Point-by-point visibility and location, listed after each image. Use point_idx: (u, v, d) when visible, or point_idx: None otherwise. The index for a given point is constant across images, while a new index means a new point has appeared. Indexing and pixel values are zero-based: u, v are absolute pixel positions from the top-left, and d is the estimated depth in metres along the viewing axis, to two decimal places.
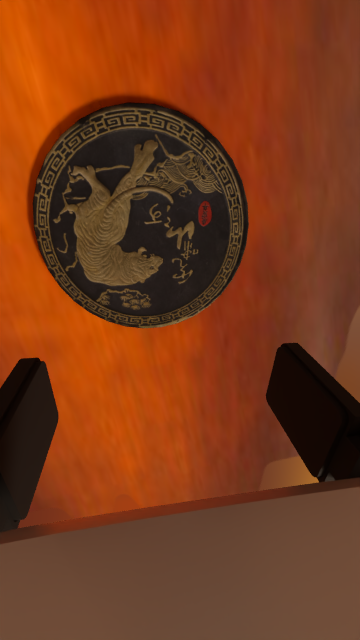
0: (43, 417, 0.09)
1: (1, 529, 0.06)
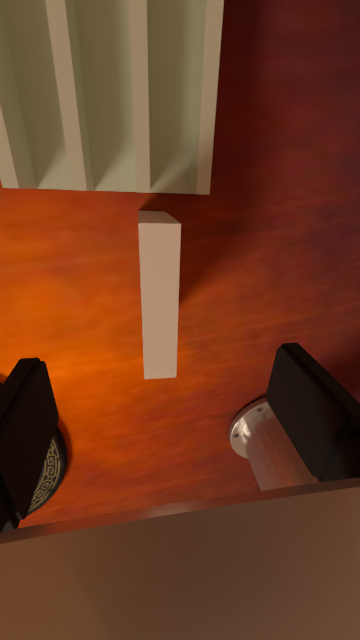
0: (43, 417, 0.09)
1: (1, 529, 0.06)
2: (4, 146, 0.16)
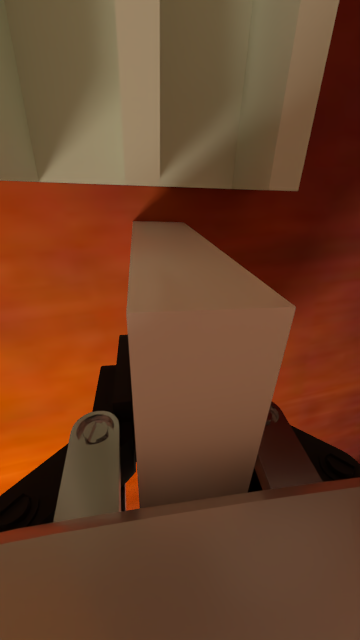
0: None
1: (134, 464, 0.08)
2: None
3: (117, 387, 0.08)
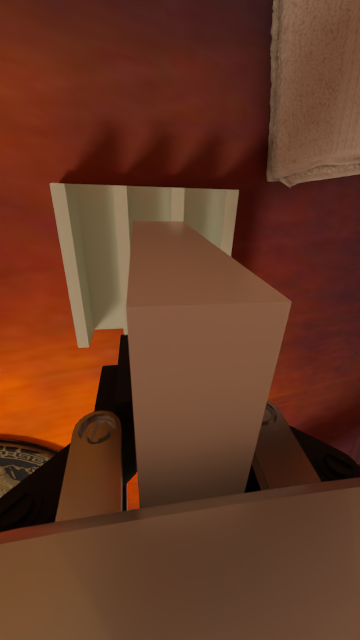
0: None
1: None
2: (82, 325, 0.24)
3: (119, 387, 0.08)
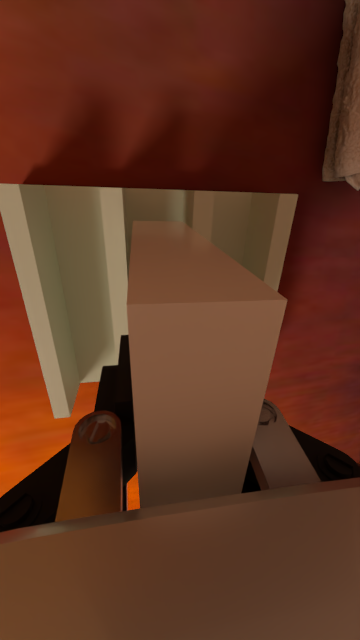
0: None
1: None
2: (58, 390, 0.16)
3: (119, 387, 0.08)
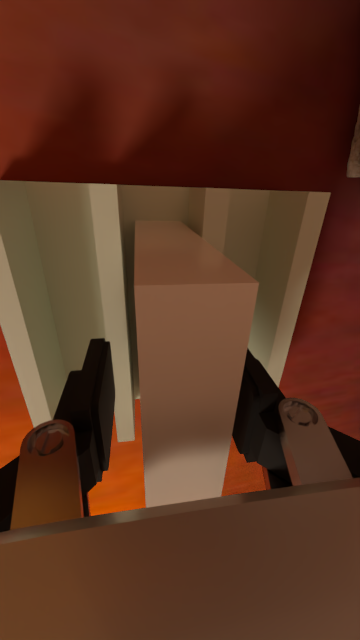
0: (111, 389, 0.10)
1: (97, 474, 0.08)
2: (45, 420, 0.14)
3: (78, 394, 0.07)
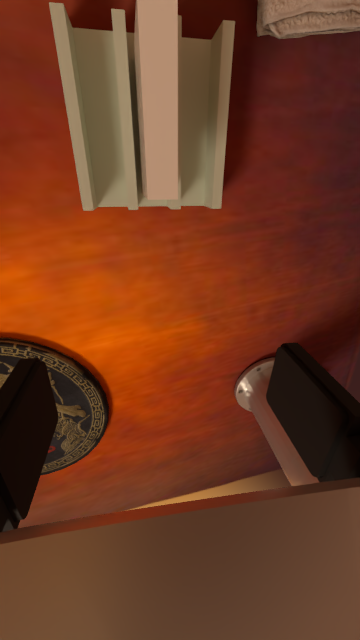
0: (43, 417, 0.09)
1: (1, 529, 0.06)
2: (86, 183, 0.24)
3: None
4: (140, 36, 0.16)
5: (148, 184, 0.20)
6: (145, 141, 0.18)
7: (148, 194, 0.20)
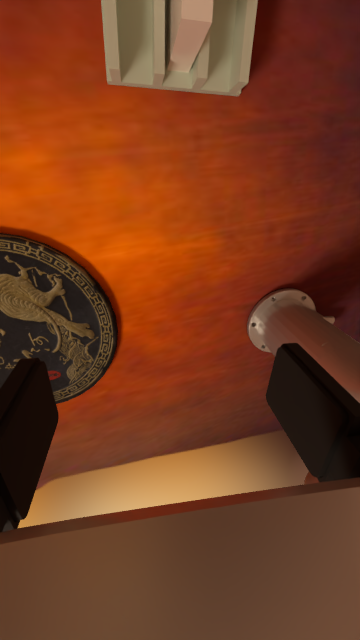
0: (43, 417, 0.09)
1: (1, 529, 0.06)
2: (114, 35, 0.24)
3: None
4: None
5: None
6: None
7: (182, 11, 0.19)
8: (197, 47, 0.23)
